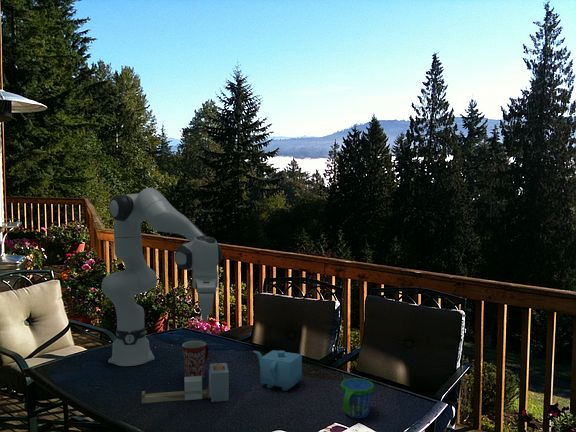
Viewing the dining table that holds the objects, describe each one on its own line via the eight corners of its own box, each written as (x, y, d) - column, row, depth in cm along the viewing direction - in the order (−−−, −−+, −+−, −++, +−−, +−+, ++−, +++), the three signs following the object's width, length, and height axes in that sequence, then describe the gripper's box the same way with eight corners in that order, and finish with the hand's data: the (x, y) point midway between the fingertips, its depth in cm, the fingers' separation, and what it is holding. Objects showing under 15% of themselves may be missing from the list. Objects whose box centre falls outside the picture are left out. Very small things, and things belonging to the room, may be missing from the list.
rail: (142, 399, 183) (142, 391, 183) (210, 394, 188) (210, 386, 187) (141, 403, 180) (141, 394, 180) (210, 397, 185) (210, 389, 185)
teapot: (304, 380, 201) (304, 347, 200) (287, 395, 187) (287, 359, 186) (262, 373, 209) (262, 341, 208) (243, 387, 194) (242, 353, 194)
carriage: (184, 394, 187) (184, 376, 186) (201, 393, 188) (201, 375, 188) (184, 400, 182) (184, 382, 182) (202, 398, 183) (202, 380, 183)
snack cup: (357, 427, 162) (357, 395, 162) (329, 417, 169) (329, 386, 169) (383, 411, 174) (383, 380, 174) (356, 402, 181) (356, 373, 180)
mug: (195, 384, 197) (195, 349, 196) (177, 379, 202) (177, 345, 201) (217, 374, 208) (216, 340, 207) (199, 369, 213) (199, 336, 212)
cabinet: (208, 390, 191) (208, 363, 190) (226, 389, 192) (226, 362, 192) (210, 402, 181) (210, 373, 181) (228, 400, 182) (228, 372, 182)
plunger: (214, 377, 188) (214, 364, 187) (223, 377, 188) (222, 363, 188) (215, 380, 185) (215, 366, 184) (223, 380, 185) (223, 366, 185)
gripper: (195, 276, 196) (194, 313, 197) (197, 288, 176) (196, 329, 177) (212, 276, 197) (211, 312, 198) (216, 288, 177) (215, 328, 178)
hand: (204, 320), depth 187 cm, fingers closed
